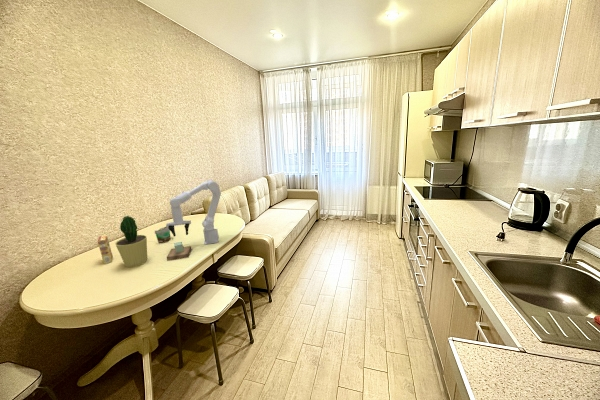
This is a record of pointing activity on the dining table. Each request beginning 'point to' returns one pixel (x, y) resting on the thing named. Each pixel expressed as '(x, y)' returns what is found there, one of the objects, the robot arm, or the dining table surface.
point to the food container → (163, 235)
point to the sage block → (178, 247)
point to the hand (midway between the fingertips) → (181, 235)
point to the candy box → (105, 249)
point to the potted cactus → (132, 244)
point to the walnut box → (180, 255)
